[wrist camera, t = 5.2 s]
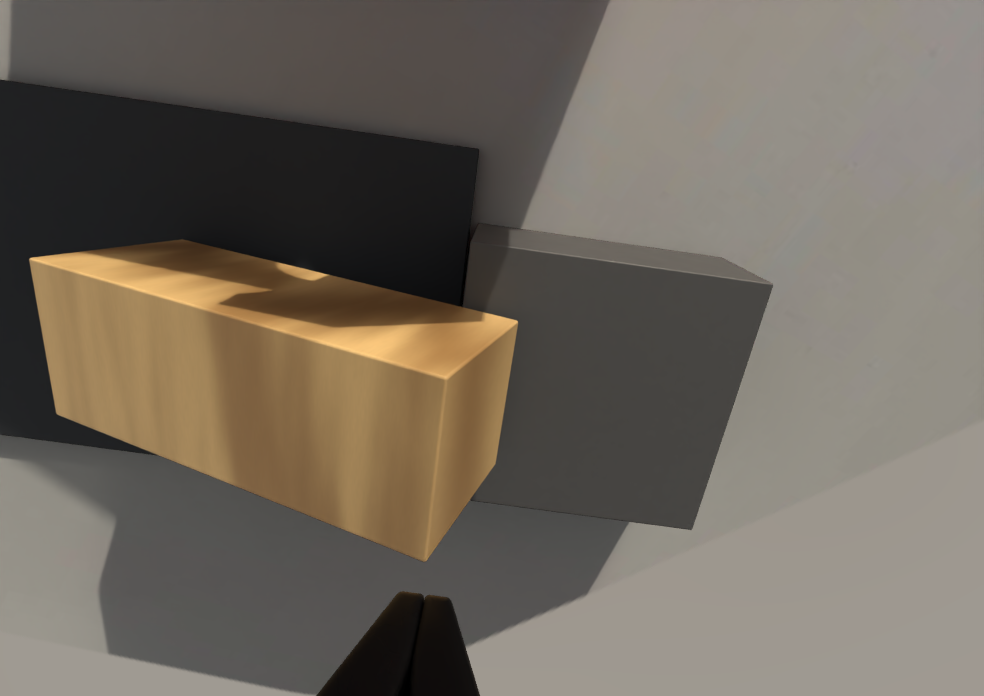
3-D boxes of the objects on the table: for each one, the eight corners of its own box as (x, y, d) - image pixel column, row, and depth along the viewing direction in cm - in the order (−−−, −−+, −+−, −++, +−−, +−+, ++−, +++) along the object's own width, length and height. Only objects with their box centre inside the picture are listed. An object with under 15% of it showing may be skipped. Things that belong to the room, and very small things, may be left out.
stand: (723, 257, 19) (774, 283, 16) (662, 466, 22) (692, 530, 19) (478, 222, 19) (470, 240, 15) (451, 438, 22) (439, 496, 19)
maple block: (447, 377, 11) (27, 257, 15) (425, 564, 13) (55, 415, 17) (519, 320, 16) (182, 238, 19) (495, 464, 17) (191, 364, 21)
